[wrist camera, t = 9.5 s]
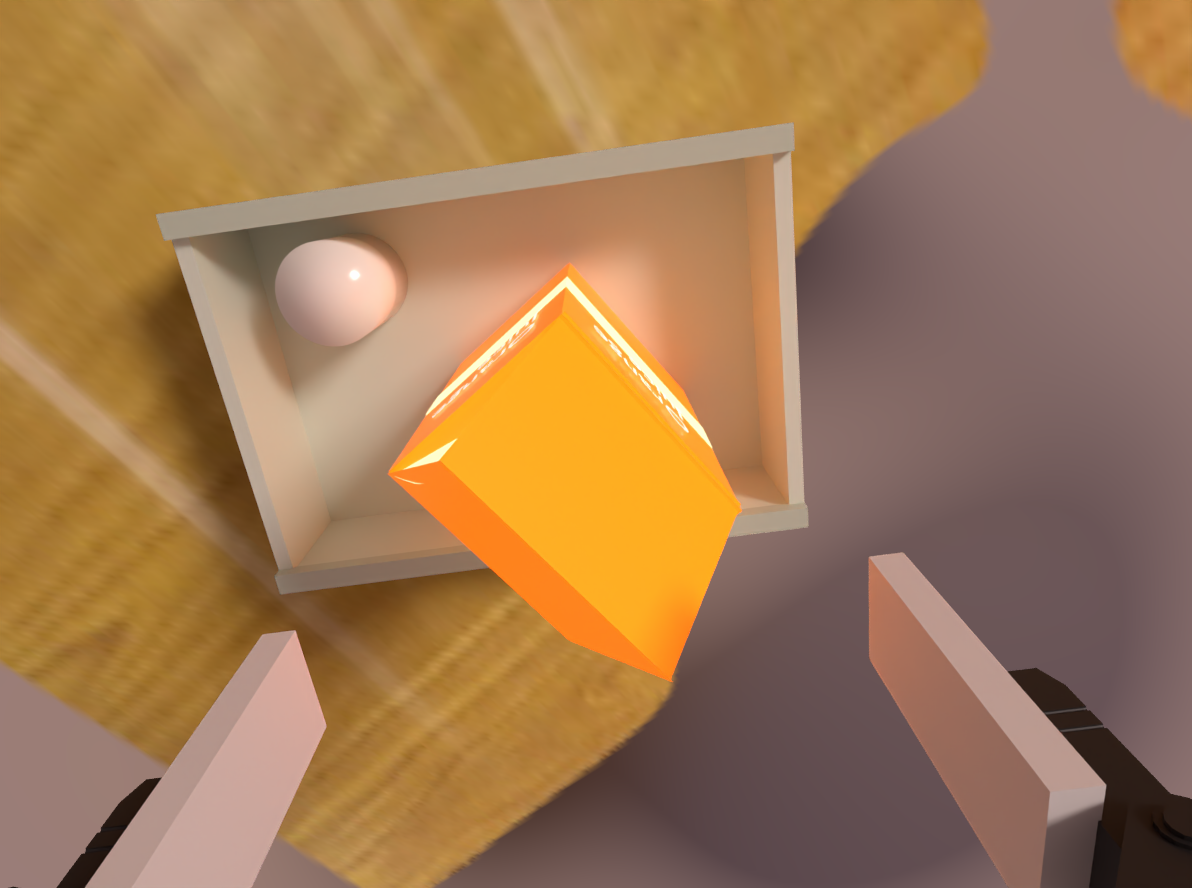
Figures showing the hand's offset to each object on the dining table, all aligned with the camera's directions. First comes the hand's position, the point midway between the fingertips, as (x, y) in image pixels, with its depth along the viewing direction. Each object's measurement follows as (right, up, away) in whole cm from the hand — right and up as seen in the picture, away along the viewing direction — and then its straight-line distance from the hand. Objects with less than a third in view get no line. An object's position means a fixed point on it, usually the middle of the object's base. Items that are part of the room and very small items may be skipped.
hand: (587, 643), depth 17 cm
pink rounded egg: (-11, +13, +18) cm, 25 cm away
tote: (-4, +9, +20) cm, 23 cm away
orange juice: (-1, +8, +21) cm, 22 cm away
